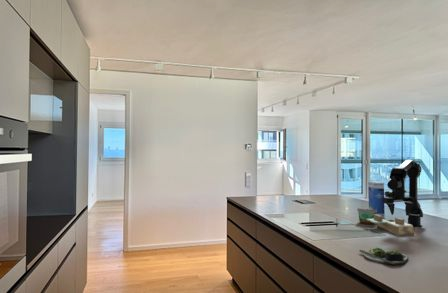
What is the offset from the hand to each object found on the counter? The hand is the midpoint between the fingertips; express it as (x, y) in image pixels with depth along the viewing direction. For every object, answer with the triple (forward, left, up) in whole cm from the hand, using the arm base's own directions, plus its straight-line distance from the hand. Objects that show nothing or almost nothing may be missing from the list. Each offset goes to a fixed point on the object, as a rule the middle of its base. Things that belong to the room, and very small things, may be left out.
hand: (399, 214), depth 182 cm
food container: (+7, -23, -11) cm, 26 cm away
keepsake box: (0, -5, -11) cm, 12 cm away
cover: (+8, -10, -6) cm, 14 cm away
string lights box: (-13, -44, -11) cm, 47 cm away
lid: (0, 0, -6) cm, 6 cm away
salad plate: (+36, +41, -11) cm, 56 cm away
